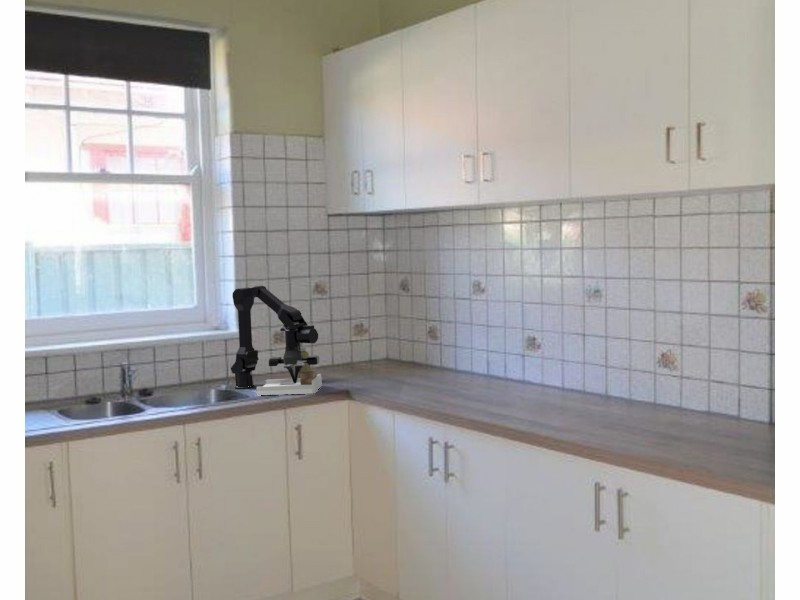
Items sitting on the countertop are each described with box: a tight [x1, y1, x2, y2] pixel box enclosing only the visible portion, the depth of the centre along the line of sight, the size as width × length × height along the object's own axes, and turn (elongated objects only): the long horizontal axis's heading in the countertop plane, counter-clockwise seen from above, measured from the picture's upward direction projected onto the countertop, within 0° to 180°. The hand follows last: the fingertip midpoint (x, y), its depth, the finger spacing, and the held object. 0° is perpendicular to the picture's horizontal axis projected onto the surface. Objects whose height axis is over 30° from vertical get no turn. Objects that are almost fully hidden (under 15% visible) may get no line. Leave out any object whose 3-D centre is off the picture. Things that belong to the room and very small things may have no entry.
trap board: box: [256, 373, 323, 397], centre depth 332 cm, size 22×16×5 cm
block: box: [300, 370, 317, 385], centre depth 331 cm, size 5×5×5 cm
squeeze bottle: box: [294, 343, 312, 378], centre depth 351 cm, size 8×8×18 cm
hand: (295, 383), depth 332 cm, fingers closed
